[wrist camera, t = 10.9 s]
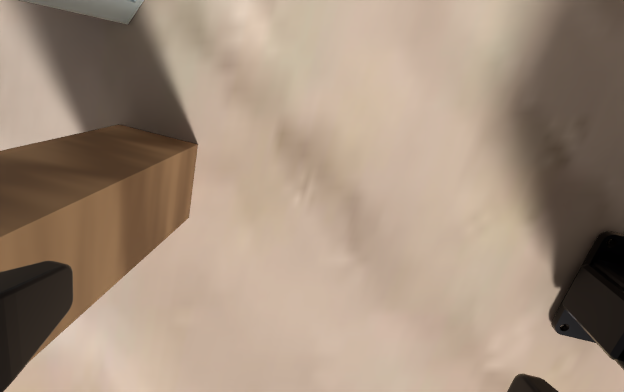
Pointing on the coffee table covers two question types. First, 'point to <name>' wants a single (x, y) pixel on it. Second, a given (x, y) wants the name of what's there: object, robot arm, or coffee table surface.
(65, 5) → the crate
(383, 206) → the coffee table surface
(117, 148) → the walnut block
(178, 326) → the coffee table surface
